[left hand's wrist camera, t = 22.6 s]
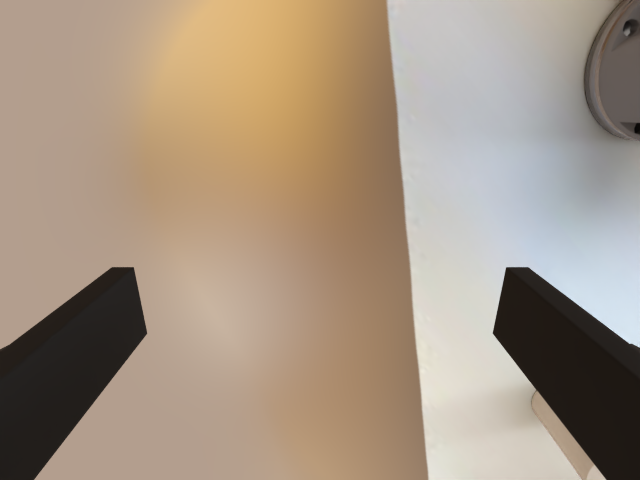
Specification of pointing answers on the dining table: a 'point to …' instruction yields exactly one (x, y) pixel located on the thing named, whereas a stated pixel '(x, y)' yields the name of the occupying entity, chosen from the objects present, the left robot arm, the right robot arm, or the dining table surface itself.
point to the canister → (565, 440)
